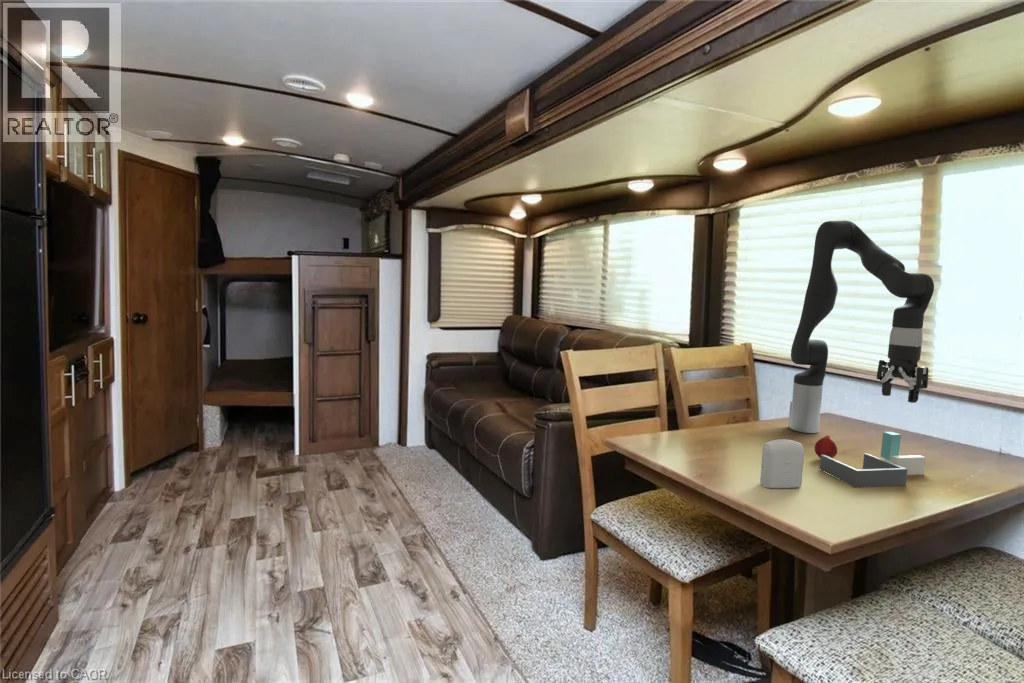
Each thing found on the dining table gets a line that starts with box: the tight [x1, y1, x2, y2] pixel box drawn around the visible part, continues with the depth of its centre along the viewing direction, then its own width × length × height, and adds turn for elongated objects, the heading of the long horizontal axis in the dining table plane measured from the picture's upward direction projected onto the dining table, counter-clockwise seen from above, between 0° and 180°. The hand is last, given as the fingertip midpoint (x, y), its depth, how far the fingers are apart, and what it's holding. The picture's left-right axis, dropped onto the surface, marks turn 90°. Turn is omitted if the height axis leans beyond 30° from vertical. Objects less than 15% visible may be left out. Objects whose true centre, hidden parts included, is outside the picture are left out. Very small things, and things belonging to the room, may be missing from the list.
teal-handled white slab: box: [880, 431, 927, 476], centre depth 151 cm, size 8×9×10 cm
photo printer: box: [759, 438, 805, 489], centre depth 136 cm, size 10×4×12 cm, turn 96°
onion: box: [814, 434, 838, 459], centre depth 157 cm, size 6×6×8 cm
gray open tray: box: [819, 452, 908, 488], centre depth 144 cm, size 13×15×4 cm
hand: (898, 398), depth 152 cm, fingers open, 8 cm apart
